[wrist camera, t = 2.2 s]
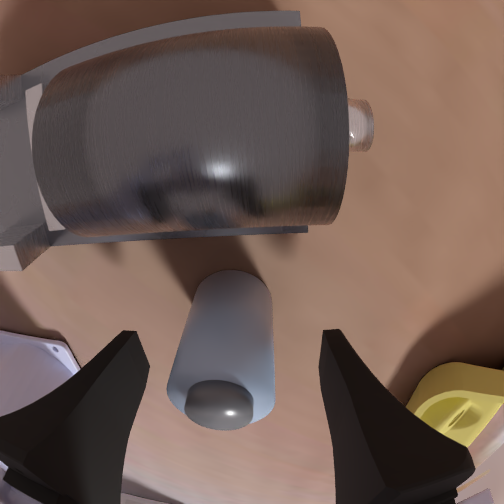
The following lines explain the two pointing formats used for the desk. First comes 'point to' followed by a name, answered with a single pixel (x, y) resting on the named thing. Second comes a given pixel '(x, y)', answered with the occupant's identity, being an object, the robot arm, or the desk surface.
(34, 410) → the robot arm
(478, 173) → the desk surface
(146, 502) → the thermostat
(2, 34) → the desk surface
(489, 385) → the plastic component
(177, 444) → the desk surface
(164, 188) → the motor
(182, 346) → the grey capped cylinder
